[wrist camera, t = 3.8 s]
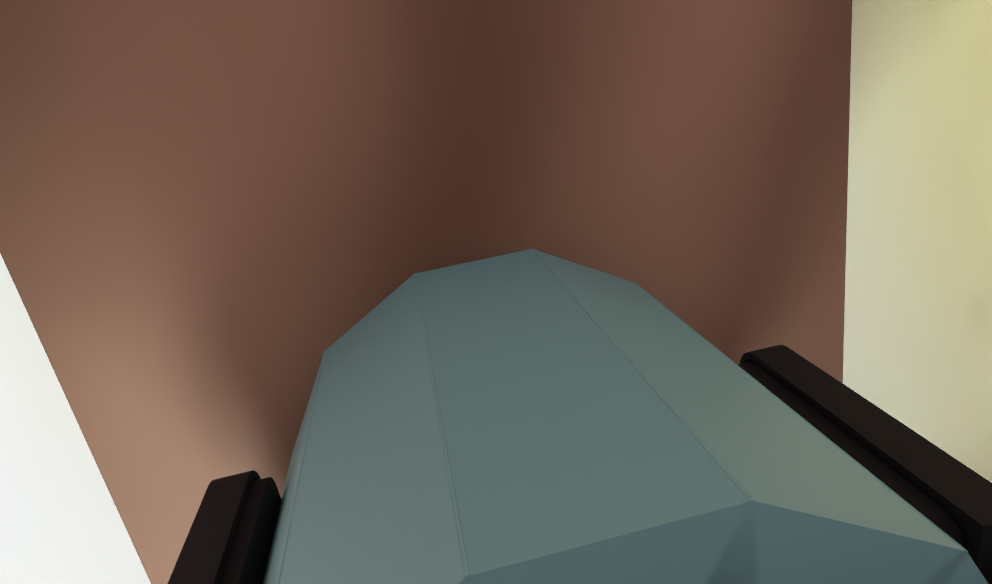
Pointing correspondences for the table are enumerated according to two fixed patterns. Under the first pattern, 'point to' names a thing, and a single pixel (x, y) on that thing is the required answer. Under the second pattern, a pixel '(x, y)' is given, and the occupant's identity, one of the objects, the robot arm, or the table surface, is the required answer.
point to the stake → (391, 192)
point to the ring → (572, 451)
